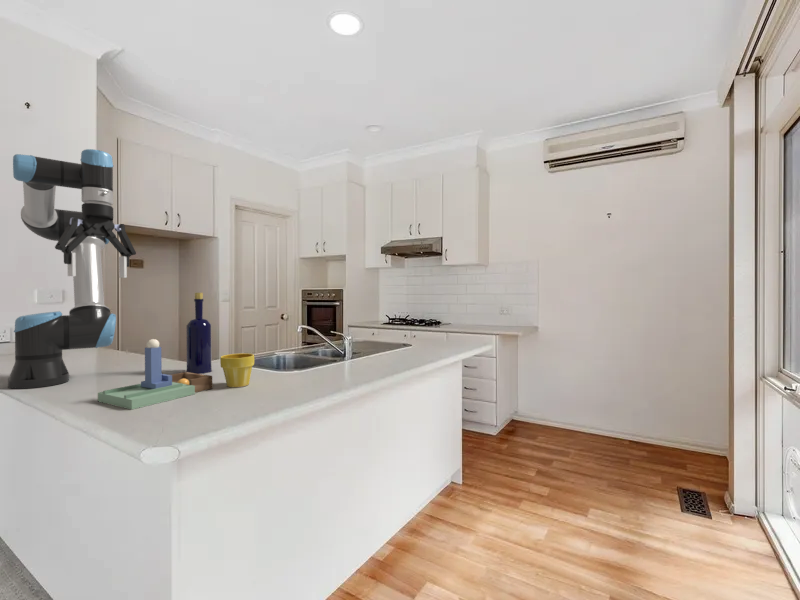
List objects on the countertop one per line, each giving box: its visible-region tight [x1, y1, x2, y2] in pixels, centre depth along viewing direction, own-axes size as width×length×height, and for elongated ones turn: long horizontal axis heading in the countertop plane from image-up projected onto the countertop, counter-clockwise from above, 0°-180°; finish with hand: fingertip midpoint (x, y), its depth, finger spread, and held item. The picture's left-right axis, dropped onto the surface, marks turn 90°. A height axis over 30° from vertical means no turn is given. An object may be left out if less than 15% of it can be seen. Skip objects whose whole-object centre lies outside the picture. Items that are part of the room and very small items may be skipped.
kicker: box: [140, 338, 172, 389], centre depth 120 cm, size 7×5×14 cm
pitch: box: [97, 382, 195, 410], centre depth 118 cm, size 16×18×3 cm
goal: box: [171, 371, 213, 393], centre depth 129 cm, size 13×7×4 cm, turn 63°
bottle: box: [186, 292, 213, 375], centre depth 155 cm, size 9×9×30 cm
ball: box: [177, 378, 189, 385], centre depth 127 cm, size 4×4×4 cm
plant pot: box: [219, 352, 255, 388], centre depth 133 cm, size 10×10×10 cm
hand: (98, 277), depth 121 cm, fingers open, 13 cm apart
